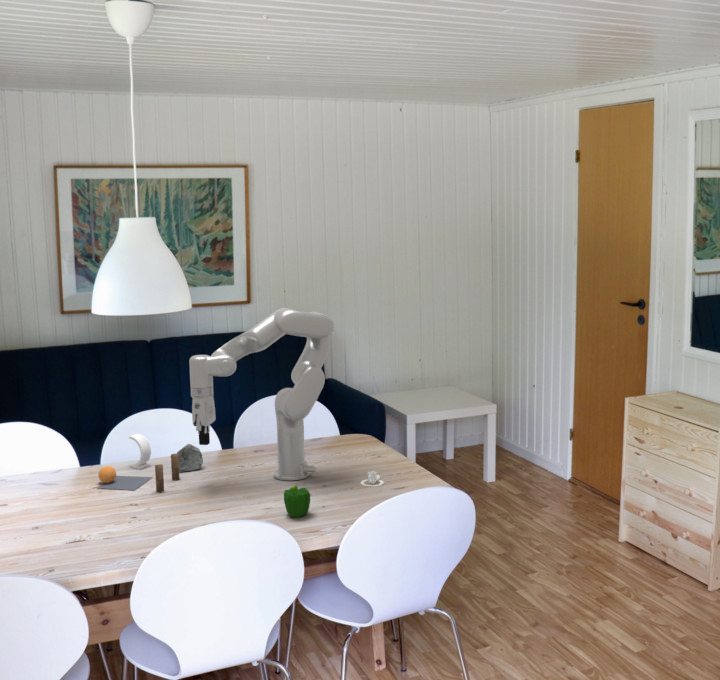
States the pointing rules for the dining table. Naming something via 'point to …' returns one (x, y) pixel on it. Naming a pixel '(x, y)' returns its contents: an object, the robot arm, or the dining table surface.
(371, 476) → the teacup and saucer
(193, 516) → the dining table surface
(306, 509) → the bell pepper
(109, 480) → the ball
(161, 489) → the post left
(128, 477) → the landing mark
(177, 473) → the post right
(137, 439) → the headphone stand
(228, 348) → the robot arm
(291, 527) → the dining table surface
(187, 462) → the stone
